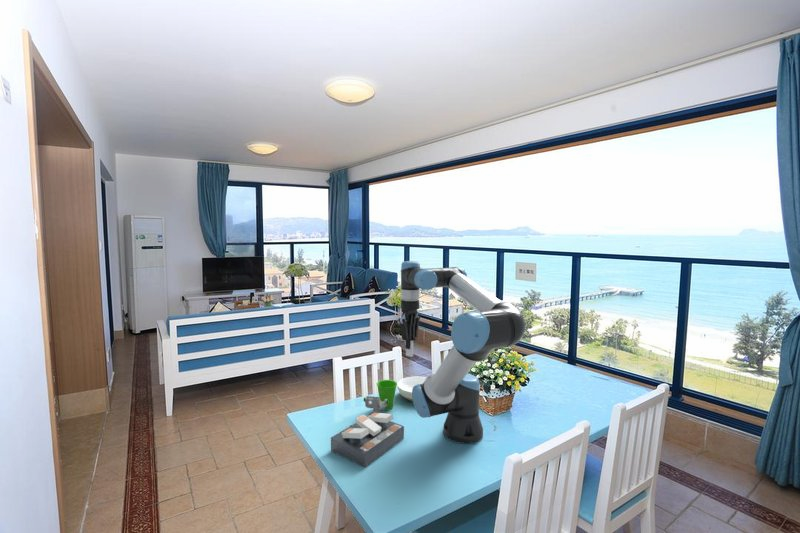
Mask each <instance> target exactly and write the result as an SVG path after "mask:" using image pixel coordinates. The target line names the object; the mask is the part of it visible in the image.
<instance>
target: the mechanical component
mask: <svg viewBox="0 0 800 533" xmlns="http://www.w3.org/2000/svg"><path fill="white" fill-rule="evenodd" d="M363 402H364V404H365V408H367V409H373V410H372V412H373V413H380V410H383V409H385V408H386V406H387V404H389V400H387V399H385V401H384V402H382V401H381V400H380V398H379V396H371V395H366V397H363ZM382 405H385V406H382Z"/></svg>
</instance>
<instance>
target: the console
mask: <svg viewBox="0 0 800 533" xmlns="http://www.w3.org/2000/svg"><path fill="white" fill-rule="evenodd" d="M371 414H372V413H370V414H368V415H366V417H368V416H369V415H371ZM375 423H376V424H378V425H379V426H380V427H382V428H381V432H379V433H378V434H376V435H375V436H372V435H371V434H370V433H369V434H368V435H366V436H364V437H363V438H361V439H358V438H343V436H342V432H344V431H346V430H347V429H349V428H362V427H360V426H359V425H358V424H356V423H352V425H349V426H348V427H346V428H344V429H343V430H342V431H341V430H340V431H339V432H337V434H334V435H333V436H331V437H330V452H332V453H335V454H336V455H338V456H341V457H342V458H345V459H347V460H349V461H350V462H353V463H354V464H357V465H359V466H361V467H363V468H366V467H368V466H369V465H371V464H372V463H373V462H374V461H376V460H377V459H379V458H380V457H381V456H383V455H384V454H385V453H387V452H388V451H389V450H391V449H393V447H395V446H396V445H398V444H399V443H400V442H401V441H403V440H404V438H405V437H404V436H405V426H404V425H402V424H399V423H396V422H395V421H392V420H391V421H389V422H388V423H381V422H375Z"/></svg>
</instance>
